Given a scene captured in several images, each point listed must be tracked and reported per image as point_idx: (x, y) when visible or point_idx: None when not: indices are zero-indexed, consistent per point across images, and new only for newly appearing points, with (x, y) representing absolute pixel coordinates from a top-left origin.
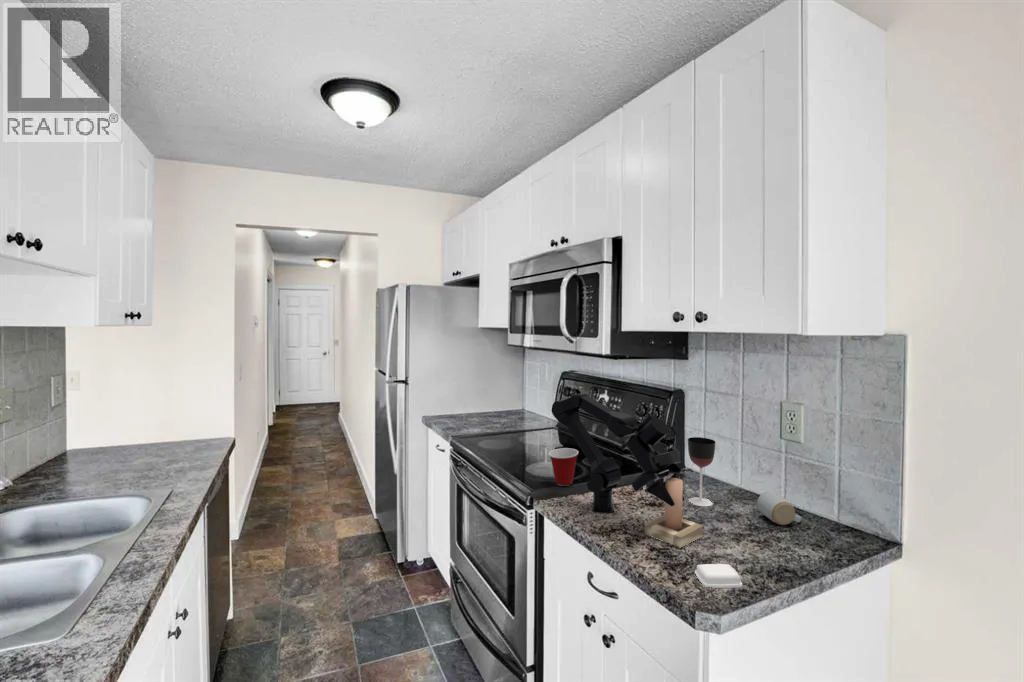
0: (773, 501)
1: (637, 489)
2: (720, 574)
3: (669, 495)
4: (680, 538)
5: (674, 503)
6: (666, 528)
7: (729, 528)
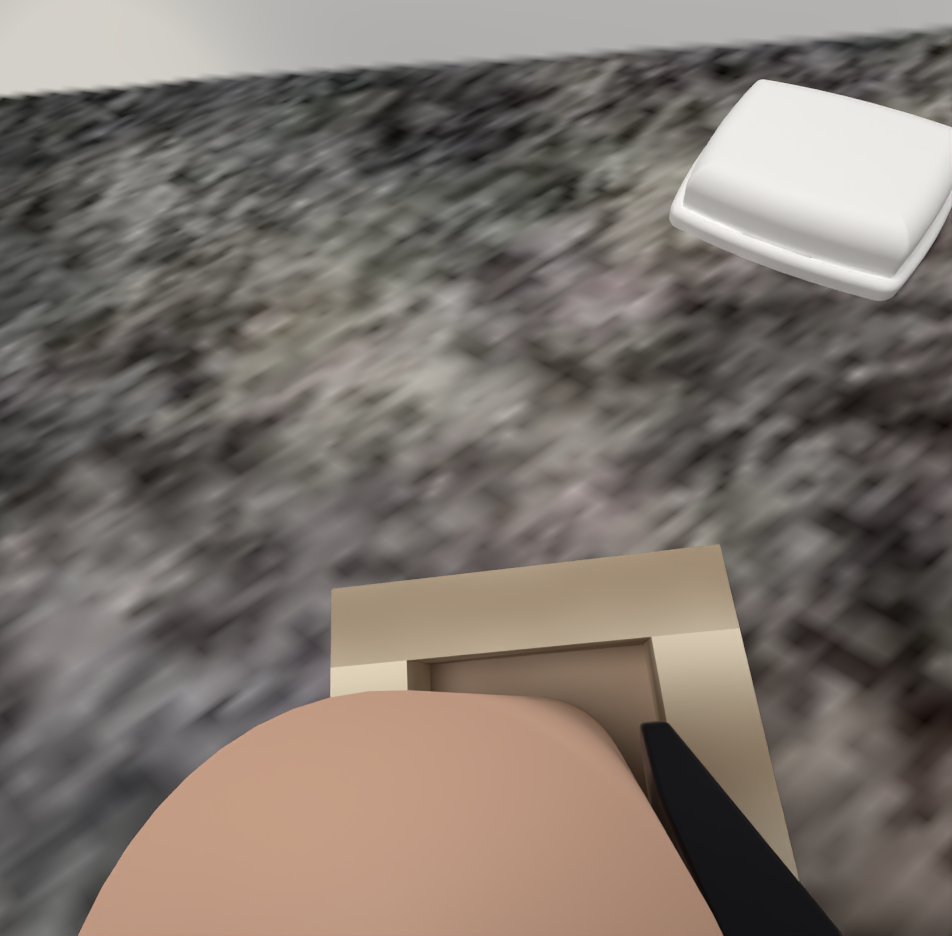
0: None
1: None
2: (870, 106)
3: (723, 863)
4: (718, 551)
5: (644, 728)
6: None
7: (103, 575)
